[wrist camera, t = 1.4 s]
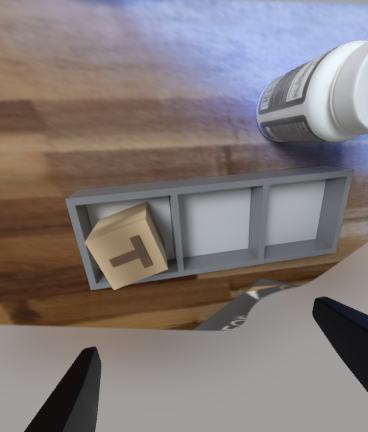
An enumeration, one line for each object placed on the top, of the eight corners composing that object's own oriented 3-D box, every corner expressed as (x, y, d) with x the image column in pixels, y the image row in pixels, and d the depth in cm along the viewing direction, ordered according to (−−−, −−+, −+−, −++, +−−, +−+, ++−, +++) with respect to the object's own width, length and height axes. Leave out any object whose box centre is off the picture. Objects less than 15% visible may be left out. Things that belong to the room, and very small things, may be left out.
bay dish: (326, 165, 19) (354, 169, 16) (313, 239, 21) (335, 252, 19) (78, 189, 16) (65, 199, 14) (99, 269, 19) (91, 290, 16)
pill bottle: (312, 128, 17) (443, 120, 10) (261, 150, 17) (350, 158, 10) (305, 65, 16) (457, -8, 8) (248, 89, 16) (344, 38, 8)
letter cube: (146, 201, 16) (145, 219, 13) (164, 242, 18) (168, 270, 14) (99, 219, 16) (84, 243, 13) (121, 258, 18) (113, 291, 14)
